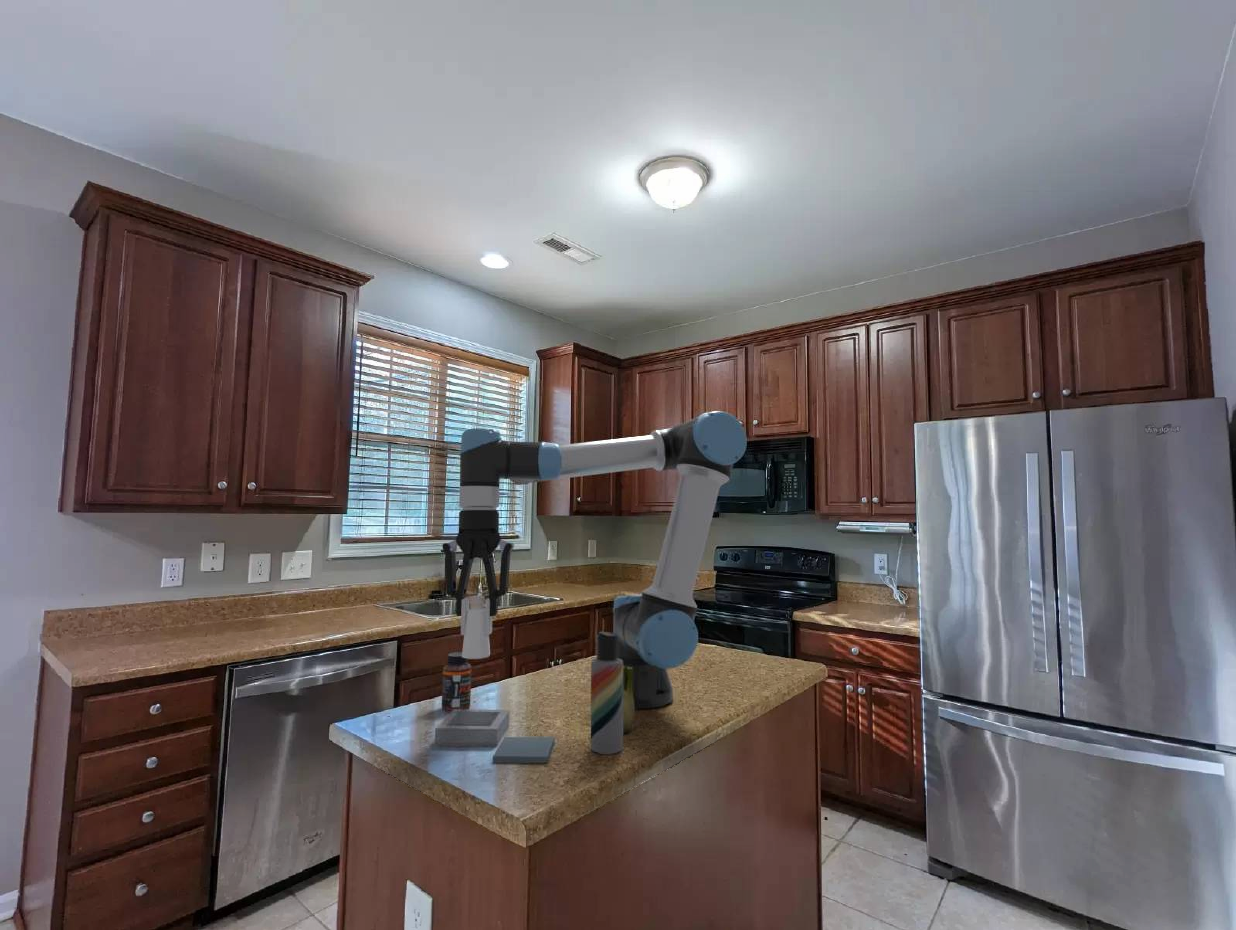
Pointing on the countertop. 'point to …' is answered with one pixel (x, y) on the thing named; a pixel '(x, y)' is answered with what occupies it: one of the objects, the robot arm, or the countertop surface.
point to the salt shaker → (476, 631)
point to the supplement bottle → (456, 683)
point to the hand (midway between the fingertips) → (476, 633)
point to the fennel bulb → (628, 700)
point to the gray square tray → (472, 728)
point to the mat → (524, 750)
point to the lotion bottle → (607, 696)
